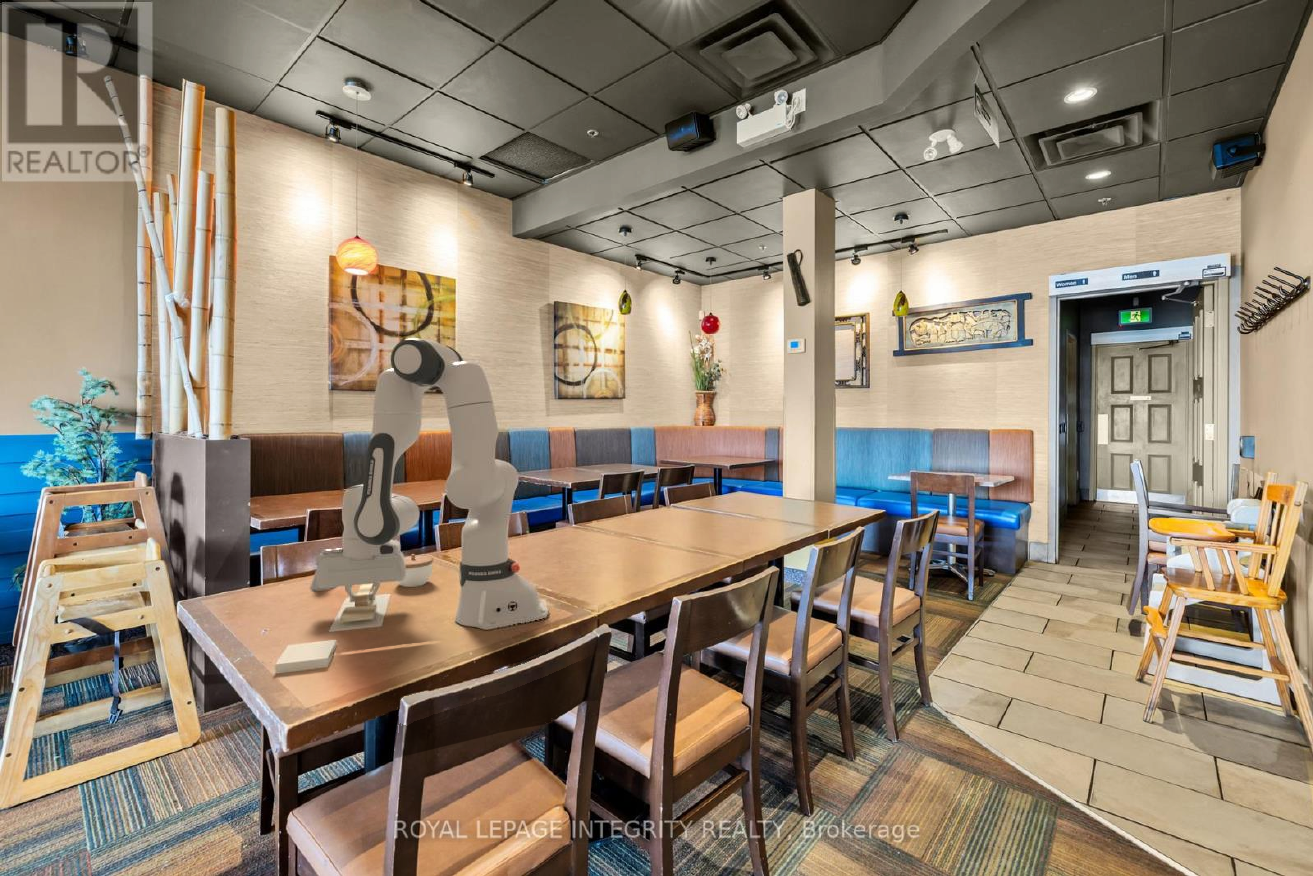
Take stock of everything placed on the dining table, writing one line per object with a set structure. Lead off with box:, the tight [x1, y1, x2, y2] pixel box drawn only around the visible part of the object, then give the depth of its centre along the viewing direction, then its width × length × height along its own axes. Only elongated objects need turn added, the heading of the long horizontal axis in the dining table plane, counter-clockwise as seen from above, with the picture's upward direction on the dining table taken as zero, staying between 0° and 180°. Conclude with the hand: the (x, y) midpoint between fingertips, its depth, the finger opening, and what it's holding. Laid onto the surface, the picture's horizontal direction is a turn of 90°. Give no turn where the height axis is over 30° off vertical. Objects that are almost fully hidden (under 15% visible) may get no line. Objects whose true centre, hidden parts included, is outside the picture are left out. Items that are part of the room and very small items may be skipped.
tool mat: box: [328, 593, 391, 633], centre depth 146 cm, size 11×26×1 cm, turn 20°
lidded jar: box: [396, 553, 434, 588], centre depth 169 cm, size 11×11×9 cm
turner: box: [340, 583, 377, 622], centre depth 146 cm, size 22×7×3 cm, turn 20°
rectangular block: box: [274, 639, 338, 674], centre depth 118 cm, size 9×2×10 cm
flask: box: [309, 566, 339, 592], centre depth 166 cm, size 7×7×10 cm
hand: (363, 600), depth 147 cm, fingers closed on turner, 3 cm apart
